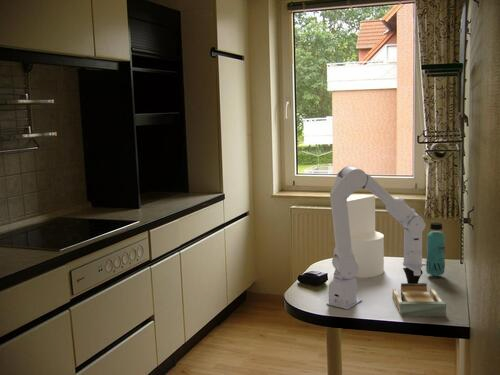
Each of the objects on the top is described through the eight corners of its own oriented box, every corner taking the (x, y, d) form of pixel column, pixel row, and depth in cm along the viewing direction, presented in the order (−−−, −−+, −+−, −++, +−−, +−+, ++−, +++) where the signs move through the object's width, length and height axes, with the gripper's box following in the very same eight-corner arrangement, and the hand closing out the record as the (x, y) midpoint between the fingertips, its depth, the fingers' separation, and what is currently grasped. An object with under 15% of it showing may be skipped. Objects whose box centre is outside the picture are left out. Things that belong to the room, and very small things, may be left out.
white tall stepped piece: (328, 270, 207) (327, 199, 202) (358, 260, 217) (357, 193, 213) (363, 280, 193) (362, 204, 189) (393, 270, 204) (393, 198, 199)
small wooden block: (400, 298, 175) (400, 282, 174) (425, 298, 174) (426, 282, 173) (408, 312, 163) (408, 296, 162) (435, 312, 162) (435, 295, 161)
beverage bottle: (422, 277, 194) (423, 223, 191) (431, 272, 199) (431, 220, 196) (439, 280, 190) (440, 225, 187) (448, 276, 194) (449, 222, 191)
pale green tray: (445, 316, 159) (446, 303, 158) (401, 316, 160) (401, 303, 160) (433, 297, 174) (433, 285, 174) (392, 297, 176) (392, 286, 175)
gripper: (430, 256, 165) (430, 297, 168) (420, 243, 180) (420, 282, 182) (407, 256, 166) (407, 298, 168) (399, 244, 180) (399, 282, 183)
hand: (412, 290), depth 175 cm, fingers closed
